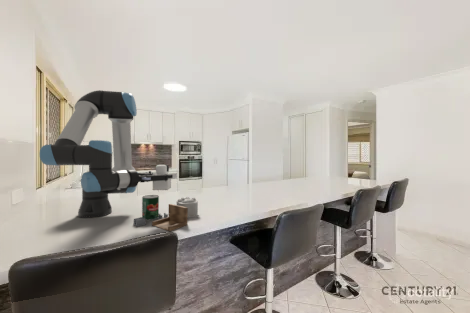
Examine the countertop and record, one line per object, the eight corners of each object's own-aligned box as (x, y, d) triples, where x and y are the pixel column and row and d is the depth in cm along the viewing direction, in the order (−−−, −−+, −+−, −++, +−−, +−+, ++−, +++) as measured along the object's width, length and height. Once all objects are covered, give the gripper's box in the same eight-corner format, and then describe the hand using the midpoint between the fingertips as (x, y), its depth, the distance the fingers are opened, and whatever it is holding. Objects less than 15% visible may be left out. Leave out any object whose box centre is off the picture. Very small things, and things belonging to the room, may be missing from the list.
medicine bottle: (156, 187, 109) (157, 164, 109) (171, 187, 109) (171, 164, 109) (152, 190, 102) (152, 165, 102) (167, 190, 102) (168, 165, 102)
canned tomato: (153, 220, 105) (153, 198, 104) (138, 219, 106) (138, 197, 106) (161, 216, 112) (161, 195, 112) (148, 215, 114) (148, 194, 114)
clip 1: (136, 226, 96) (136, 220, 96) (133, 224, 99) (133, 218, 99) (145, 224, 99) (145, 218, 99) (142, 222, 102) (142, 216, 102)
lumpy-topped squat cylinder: (180, 218, 109) (180, 201, 109) (174, 212, 120) (174, 196, 120) (199, 215, 114) (199, 199, 114) (192, 210, 125) (192, 195, 125)
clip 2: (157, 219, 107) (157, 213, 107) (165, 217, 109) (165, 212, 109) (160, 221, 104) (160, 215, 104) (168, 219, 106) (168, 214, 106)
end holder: (152, 225, 98) (152, 207, 98) (170, 219, 106) (170, 203, 106) (169, 231, 91) (169, 212, 91) (187, 224, 99) (187, 207, 99)
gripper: (113, 185, 97) (156, 180, 116) (140, 190, 84) (184, 184, 103) (113, 168, 97) (156, 166, 115) (140, 171, 84) (184, 168, 102)
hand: (169, 174), depth 109 cm, fingers closed on medicine bottle, 10 cm apart
